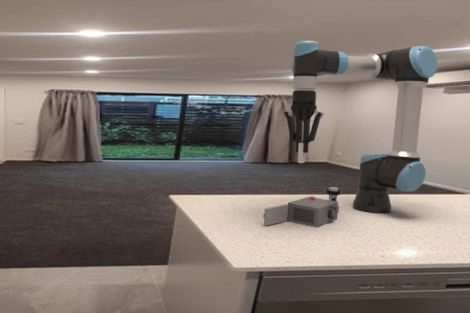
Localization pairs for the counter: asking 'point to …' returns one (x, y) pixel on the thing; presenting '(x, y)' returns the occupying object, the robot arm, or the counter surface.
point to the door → (275, 214)
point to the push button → (333, 194)
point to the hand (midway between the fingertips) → (301, 162)
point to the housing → (312, 211)
